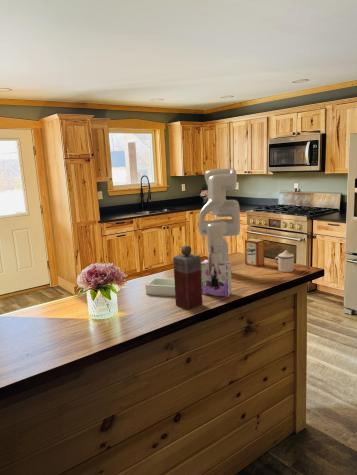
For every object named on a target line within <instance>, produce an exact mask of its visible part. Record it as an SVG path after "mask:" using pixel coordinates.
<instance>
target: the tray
mask: <svg viewBox="0 0 357 475" xmlns="http://www.w3.org/2000/svg"><path fill="white" fill-rule="evenodd" d="M145 295H152V296H153V295H154V296H165V297H175V282H174V278H165V277H154V278H152V279H151V280H150V281H149V282H147V283H146V284H145Z"/></svg>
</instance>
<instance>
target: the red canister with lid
mask: <svg viewBox="0 0 357 475" xmlns="http://www.w3.org/2000/svg"><path fill="white" fill-rule="evenodd" d="M201 258H202V257H201V256H200V255H198V254H195V253H194V254H193V253H192V247H191V246H189V245H186V244H185V245H183V246H182V248H181V254H178V255H174V256H173V257H172V262H173V279H174V282H175V296H174V297H175V298H174V299H175V306H176V307H179V308H181V309H184V310H186V311H190V310H194V309H196V308H199V307H200V306H203V294H202V277H201V262H202V261H201Z"/></svg>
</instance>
